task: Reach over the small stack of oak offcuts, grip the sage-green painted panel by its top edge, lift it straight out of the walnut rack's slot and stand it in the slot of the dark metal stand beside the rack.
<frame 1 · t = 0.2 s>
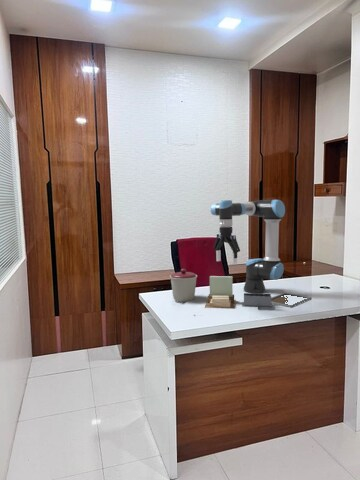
hand: (226, 262, 209), 28 cm above the table, tool pointing down, fingers open, 13 cm apart
offcut upper: (220, 301, 214), point 4 cm above the table, touching offcut lower
offcut lower: (220, 305, 214), point 1 cm above the table, touching offcut upper, rack
grey brown flat board: (286, 302, 227), on the table
stand: (257, 307, 214), on the table
rack: (220, 305, 218), on the table
canister: (183, 300, 232), on the table
panel: (221, 301, 222), point 1 cm above the table, touching rack
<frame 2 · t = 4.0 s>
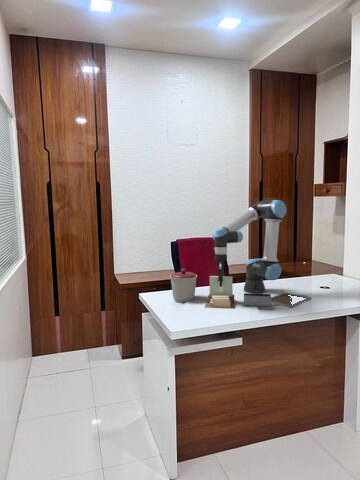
hand: (221, 290, 221), 9 cm above the table, tool pointing down, fingers closed on panel, 2 cm apart
panel: (221, 301, 222), point 2 cm above the table, touching gripper, rack
everything else where it was.
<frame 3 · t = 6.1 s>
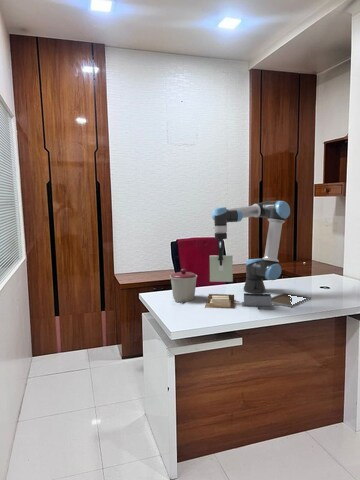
hand: (221, 270, 220), 22 cm above the table, tool pointing down, fingers closed on panel, 2 cm apart
panel: (221, 281, 221), point 15 cm above the table, touching gripper
everything else where it was.
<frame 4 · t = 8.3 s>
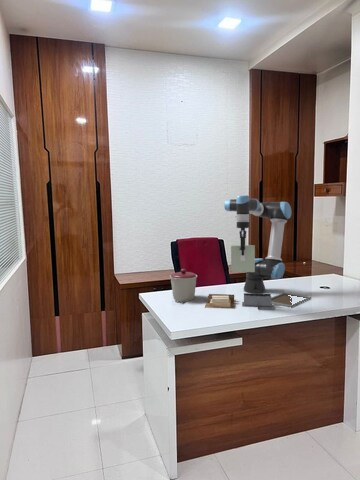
hand: (243, 260, 214), 28 cm above the table, tool pointing down, fingers closed on panel, 2 cm apart
panel: (242, 271, 215), point 21 cm above the table, touching gripper
everything else where it was.
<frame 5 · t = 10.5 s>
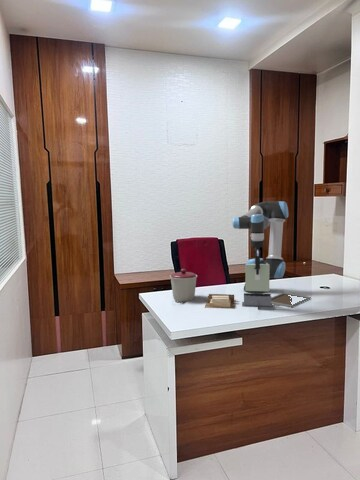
hand: (257, 279, 212), 17 cm above the table, tool pointing down, fingers closed on panel, 2 cm apart
panel: (257, 290, 213), point 10 cm above the table, touching gripper
everything else where it was.
when the fingers open (10 cm above the table, at t = 12.6 s): panel drops 1 cm, resting on stand.
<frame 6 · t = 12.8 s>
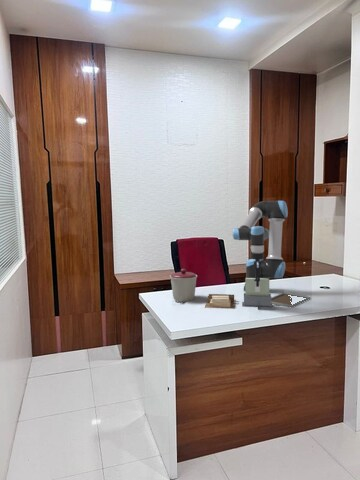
hand: (257, 290, 213), 10 cm above the table, tool pointing down, fingers open, 5 cm apart
panel: (257, 304, 214), point 2 cm above the table, touching stand
everything else where it was.
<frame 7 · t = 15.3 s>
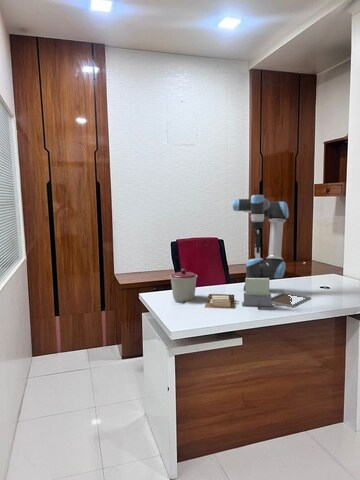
hand: (257, 256, 211), 31 cm above the table, tool pointing down, fingers open, 13 cm apart
nothing on the table moved.
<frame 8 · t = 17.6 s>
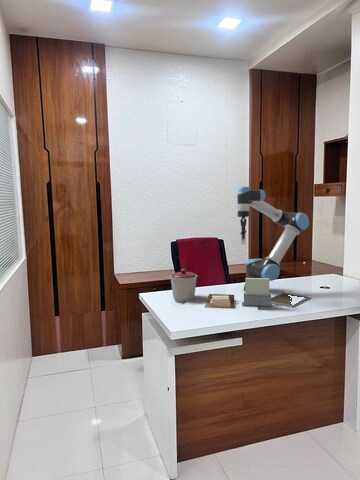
hand: (243, 243, 231), 37 cm above the table, tool pointing down, fingers open, 13 cm apart
nothing on the table moved.
at the end: panel 0.1 cm off-centre on the stand, point 1.5 cm above the stand's base; panel tilted 0°; offcut upper moved 0.0 cm from its start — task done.
